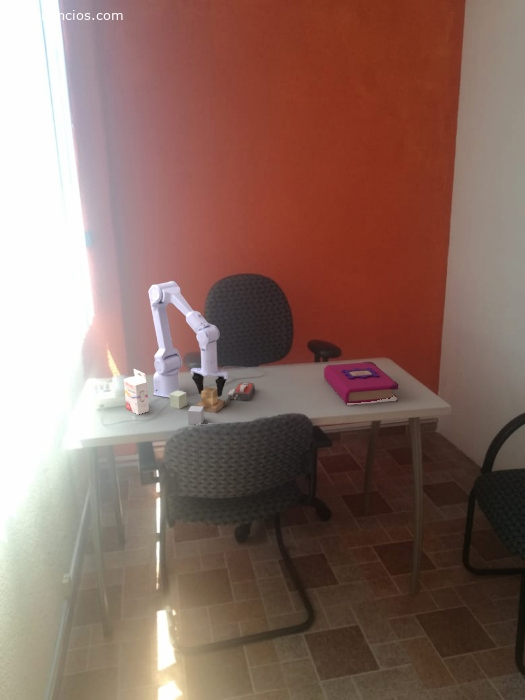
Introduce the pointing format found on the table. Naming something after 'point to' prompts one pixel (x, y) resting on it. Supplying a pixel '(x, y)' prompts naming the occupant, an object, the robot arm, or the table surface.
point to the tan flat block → (213, 408)
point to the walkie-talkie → (241, 392)
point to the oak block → (209, 396)
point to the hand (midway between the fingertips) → (210, 394)
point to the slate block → (196, 414)
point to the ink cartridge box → (136, 393)
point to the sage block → (178, 399)
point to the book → (359, 382)
